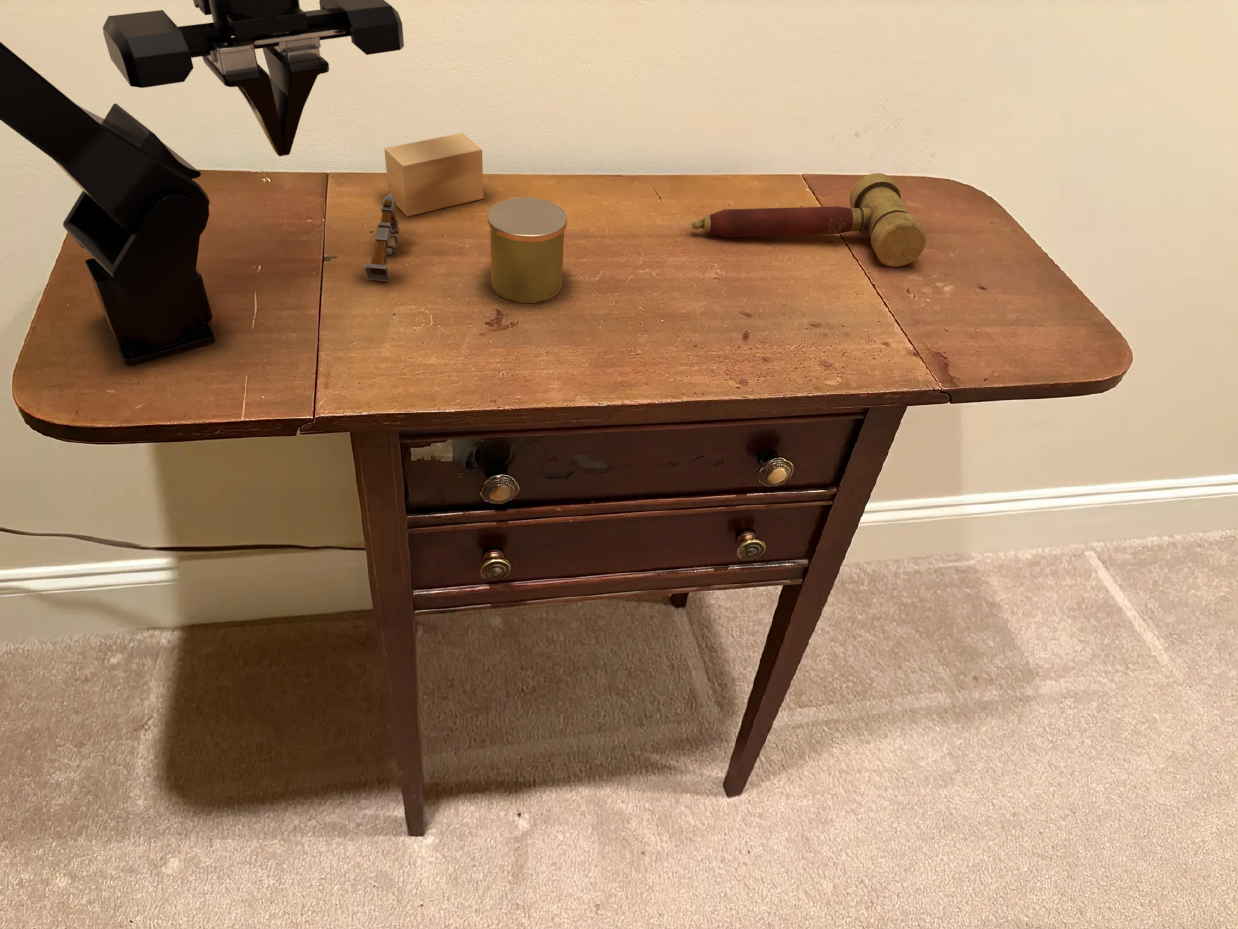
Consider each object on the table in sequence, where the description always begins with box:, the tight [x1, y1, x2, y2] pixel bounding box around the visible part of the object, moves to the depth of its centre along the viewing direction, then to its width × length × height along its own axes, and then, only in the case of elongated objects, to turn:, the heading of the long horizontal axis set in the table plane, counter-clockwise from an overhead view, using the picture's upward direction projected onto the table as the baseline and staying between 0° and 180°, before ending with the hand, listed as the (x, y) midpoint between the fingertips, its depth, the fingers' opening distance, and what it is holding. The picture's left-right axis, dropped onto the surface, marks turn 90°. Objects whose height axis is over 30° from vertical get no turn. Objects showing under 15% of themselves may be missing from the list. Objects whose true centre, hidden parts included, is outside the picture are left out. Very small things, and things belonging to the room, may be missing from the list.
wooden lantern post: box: [363, 193, 400, 282], centre depth 79 cm, size 2×8×4 cm, turn 179°
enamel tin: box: [487, 196, 568, 304], centre depth 76 cm, size 6×6×6 cm
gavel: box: [690, 172, 927, 268], centre depth 87 cm, size 21×5×10 cm
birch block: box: [383, 132, 484, 217], centre depth 87 cm, size 8×4×5 cm, turn 125°
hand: (282, 153), depth 69 cm, fingers closed
